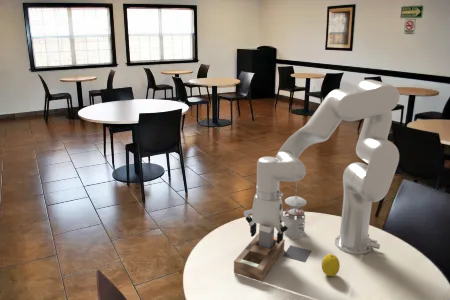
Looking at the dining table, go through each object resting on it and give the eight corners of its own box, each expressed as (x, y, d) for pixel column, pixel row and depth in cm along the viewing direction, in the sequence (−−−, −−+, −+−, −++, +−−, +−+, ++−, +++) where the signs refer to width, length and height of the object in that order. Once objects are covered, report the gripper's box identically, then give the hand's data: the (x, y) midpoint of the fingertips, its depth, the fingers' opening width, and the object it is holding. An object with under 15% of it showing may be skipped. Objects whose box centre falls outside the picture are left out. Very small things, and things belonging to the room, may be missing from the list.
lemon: (328, 283, 119) (331, 261, 116) (317, 273, 124) (318, 252, 121) (342, 278, 121) (344, 256, 119) (330, 269, 126) (332, 248, 124)
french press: (279, 238, 145) (281, 177, 137) (283, 223, 155) (286, 166, 148) (305, 242, 142) (309, 179, 134) (308, 227, 153) (312, 168, 145)
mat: (311, 251, 136) (311, 250, 136) (305, 263, 129) (305, 262, 129) (290, 246, 139) (290, 245, 139) (282, 257, 133) (282, 256, 133)
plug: (273, 252, 135) (274, 222, 132) (269, 258, 132) (270, 227, 128) (262, 249, 137) (263, 220, 133) (258, 255, 134) (259, 225, 130)
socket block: (284, 250, 137) (284, 239, 135) (262, 282, 120) (262, 269, 118) (258, 243, 141) (258, 232, 140) (233, 272, 124) (233, 260, 123)
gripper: (296, 194, 127) (293, 239, 132) (249, 184, 134) (248, 227, 140) (288, 203, 120) (286, 250, 126) (239, 192, 128) (239, 237, 133)
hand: (266, 238), depth 133 cm, fingers open, 9 cm apart
